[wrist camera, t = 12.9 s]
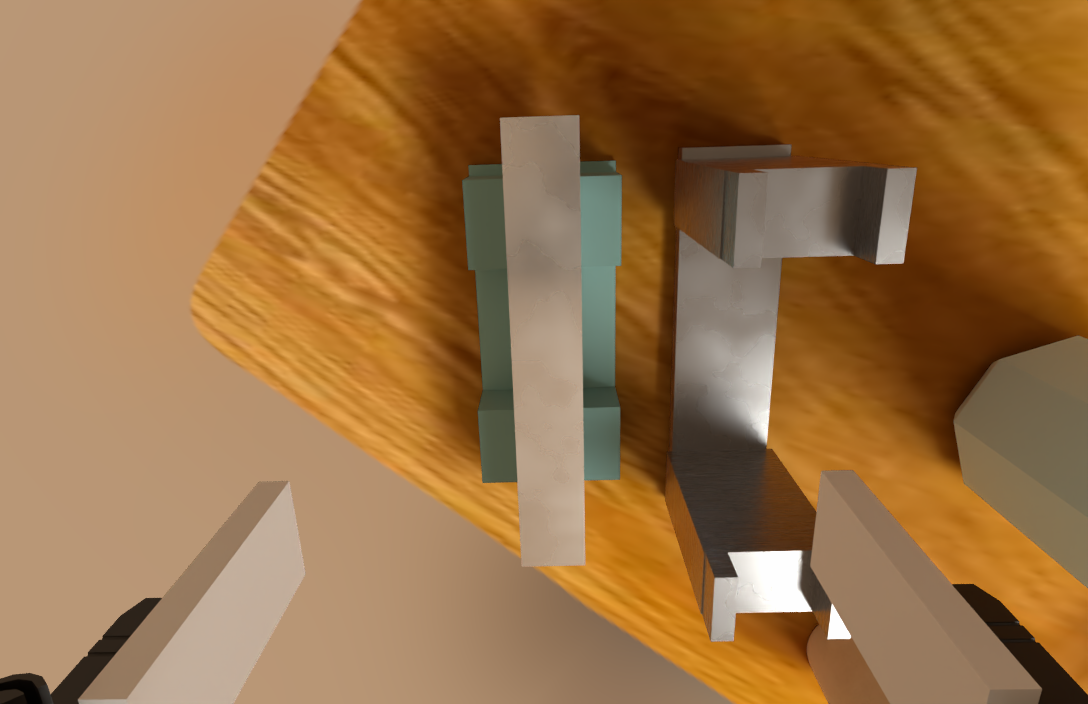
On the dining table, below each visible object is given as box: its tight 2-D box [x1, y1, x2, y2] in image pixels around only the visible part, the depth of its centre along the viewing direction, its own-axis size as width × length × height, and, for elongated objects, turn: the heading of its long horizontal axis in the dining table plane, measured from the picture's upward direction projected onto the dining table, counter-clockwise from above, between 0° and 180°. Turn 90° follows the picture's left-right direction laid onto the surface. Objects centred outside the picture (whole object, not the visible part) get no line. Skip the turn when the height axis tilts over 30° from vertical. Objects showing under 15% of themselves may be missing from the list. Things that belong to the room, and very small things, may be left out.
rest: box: [462, 161, 622, 483], centre depth 33 cm, size 16×7×3 cm, turn 2°
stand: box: [665, 144, 917, 642], centre depth 29 cm, size 19×6×12 cm, turn 2°
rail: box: [500, 115, 585, 567], centre depth 30 cm, size 20×3×4 cm, turn 2°
